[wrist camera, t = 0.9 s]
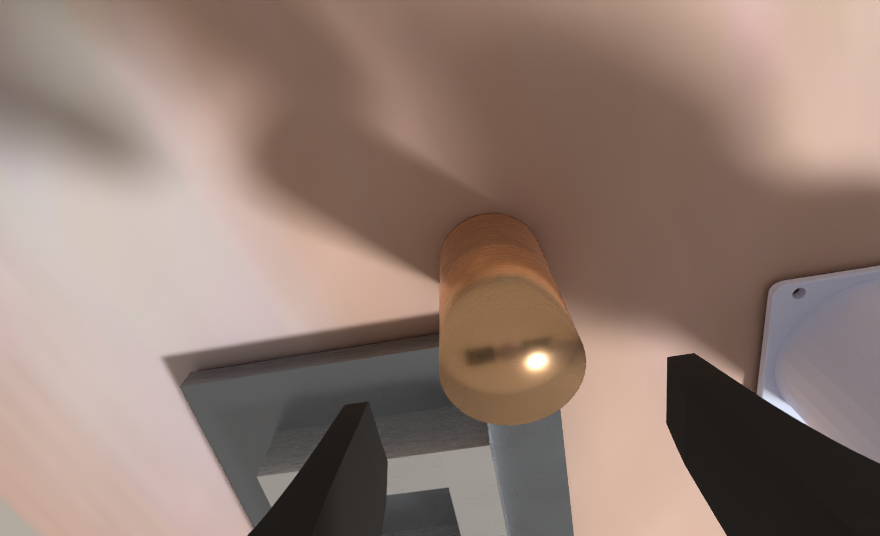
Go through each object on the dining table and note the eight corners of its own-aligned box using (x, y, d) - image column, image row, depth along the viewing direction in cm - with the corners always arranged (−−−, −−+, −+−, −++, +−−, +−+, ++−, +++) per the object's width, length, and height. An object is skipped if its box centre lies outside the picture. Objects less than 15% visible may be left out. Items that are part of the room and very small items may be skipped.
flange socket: (546, 316, 21) (565, 367, 18) (573, 557, 28) (590, 625, 25) (190, 372, 22) (149, 429, 19) (299, 588, 29) (282, 656, 26)
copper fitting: (534, 205, 19) (581, 294, 12) (544, 296, 20) (589, 414, 14) (431, 223, 19) (425, 319, 13) (449, 311, 21) (452, 434, 14)
